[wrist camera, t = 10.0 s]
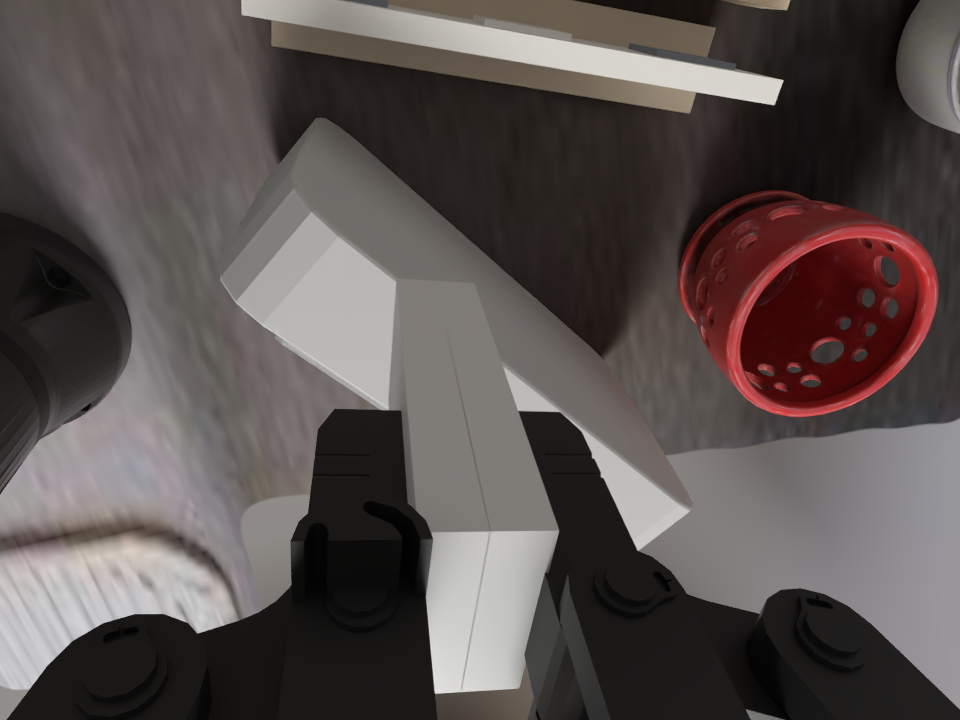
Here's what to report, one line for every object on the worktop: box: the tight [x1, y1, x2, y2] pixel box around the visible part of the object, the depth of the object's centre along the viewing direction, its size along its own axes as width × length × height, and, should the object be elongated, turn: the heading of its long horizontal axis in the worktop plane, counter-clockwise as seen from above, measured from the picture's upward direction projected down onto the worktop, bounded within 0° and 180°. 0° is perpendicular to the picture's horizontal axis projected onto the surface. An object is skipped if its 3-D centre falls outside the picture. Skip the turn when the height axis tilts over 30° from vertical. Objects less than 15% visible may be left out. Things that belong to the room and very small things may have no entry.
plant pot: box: [678, 190, 938, 417], centre depth 43 cm, size 13×13×12 cm
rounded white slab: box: [220, 118, 693, 550], centre depth 39 cm, size 29×8×18 cm, turn 45°
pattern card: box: [241, 0, 784, 114], centre depth 34 cm, size 26×5×10 cm, turn 80°
